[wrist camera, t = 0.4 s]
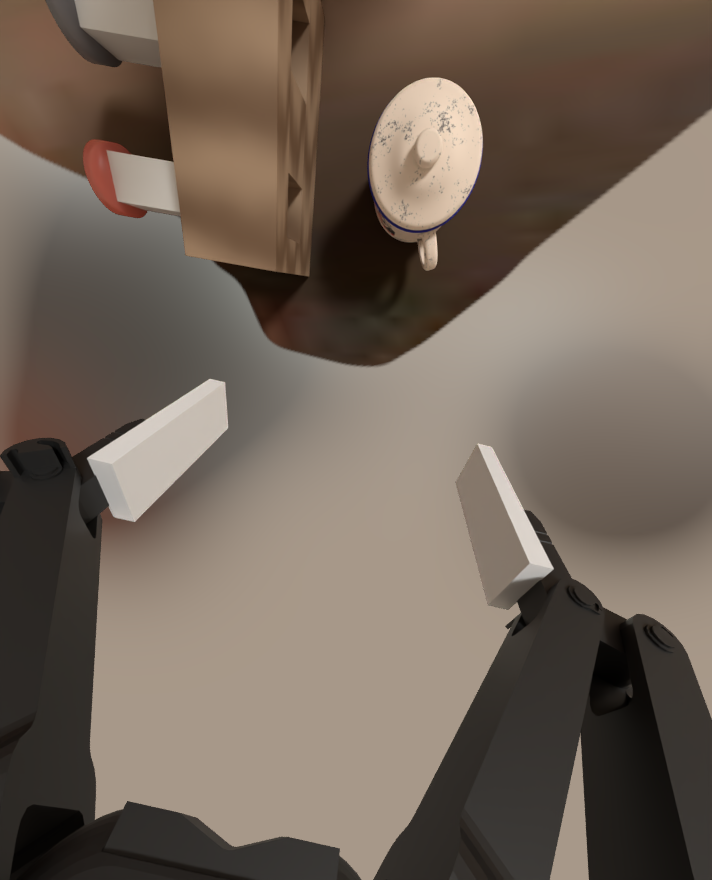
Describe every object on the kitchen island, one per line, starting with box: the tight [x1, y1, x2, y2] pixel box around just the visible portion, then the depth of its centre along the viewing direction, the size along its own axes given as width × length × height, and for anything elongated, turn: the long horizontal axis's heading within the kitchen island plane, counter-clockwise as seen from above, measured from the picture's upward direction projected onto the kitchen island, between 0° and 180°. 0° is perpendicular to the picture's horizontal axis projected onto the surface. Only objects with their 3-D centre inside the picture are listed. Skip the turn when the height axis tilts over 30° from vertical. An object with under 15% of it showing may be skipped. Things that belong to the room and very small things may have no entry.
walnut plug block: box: [153, 0, 325, 276], centre depth 24 cm, size 20×8×12 cm, turn 171°
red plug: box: [83, 139, 180, 218], centre depth 26 cm, size 5×13×5 cm, turn 81°
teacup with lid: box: [368, 78, 483, 271], centre depth 25 cm, size 12×9×12 cm
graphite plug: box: [46, 0, 161, 68], centre depth 21 cm, size 5×13×5 cm, turn 81°
